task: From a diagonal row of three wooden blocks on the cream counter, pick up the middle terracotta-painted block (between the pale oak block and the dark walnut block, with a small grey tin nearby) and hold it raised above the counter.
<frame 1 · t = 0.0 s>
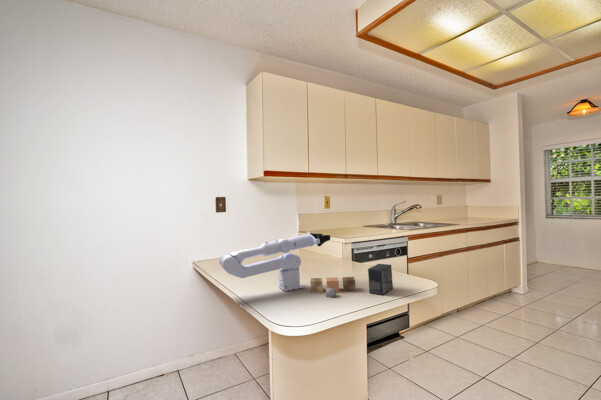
hand: (326, 236, 144), 22 cm above the table, tool horizontal, fingers open, 7 cm apart
walnut block: (349, 290, 129), on the table
grey tin: (330, 296, 122), on the table
small box: (381, 291, 125), on the table
terracotta block: (333, 290, 129), on the table
oak block: (316, 291, 130), on the table
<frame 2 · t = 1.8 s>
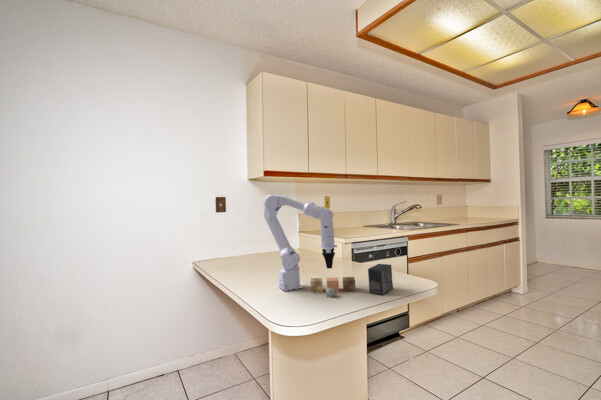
hand: (329, 266, 132), 10 cm above the table, tool pointing down, fingers open, 7 cm apart
nothing on the table moved.
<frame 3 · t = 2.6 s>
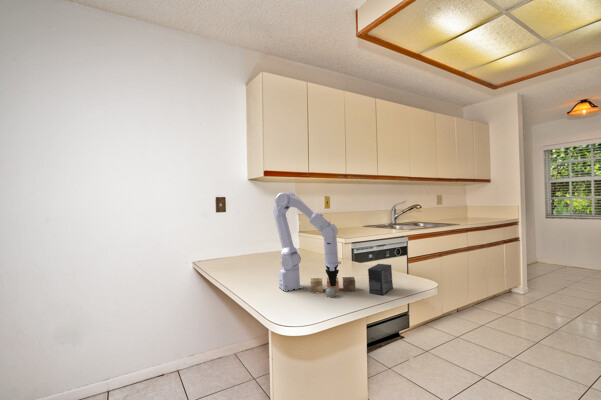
hand: (332, 283, 129), 3 cm above the table, tool pointing down, fingers open, 7 cm apart
nothing on the table moved.
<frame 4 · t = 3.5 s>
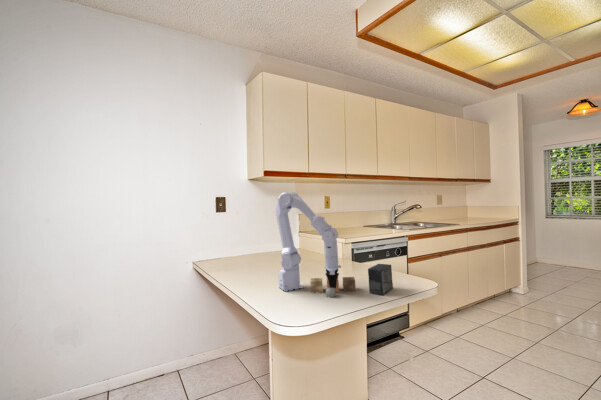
hand: (332, 287, 129), 1 cm above the table, tool pointing down, fingers closed on terracotta block, 5 cm apart
terracotta block: (333, 290, 129), on the table, touching gripper
everything else where it was.
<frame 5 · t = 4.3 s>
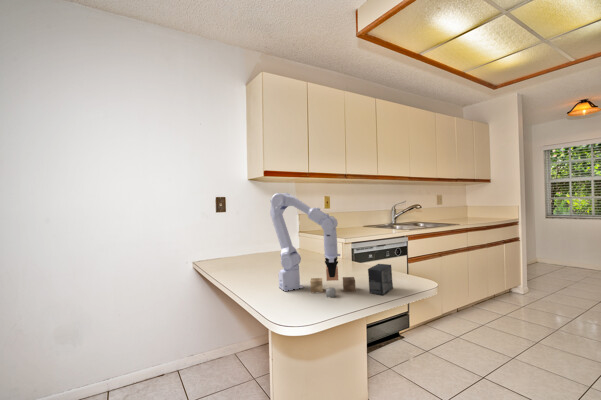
hand: (332, 275, 129), 7 cm above the table, tool pointing down, fingers closed on terracotta block, 5 cm apart
terracotta block: (332, 278, 129), point 5 cm above the table, touching gripper
everything else where it was.
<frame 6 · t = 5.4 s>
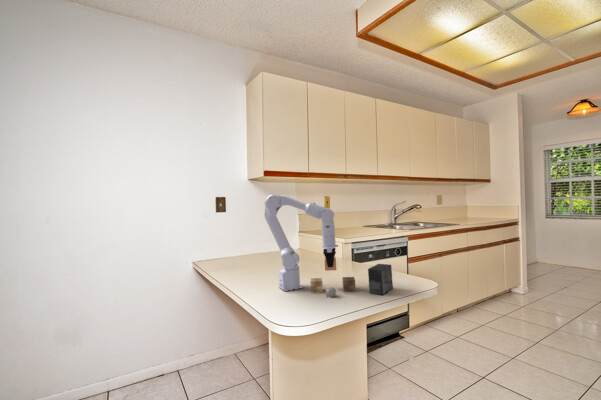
hand: (330, 265, 133), 10 cm above the table, tool pointing down, fingers closed on terracotta block, 5 cm apart
terracotta block: (330, 269, 133), point 8 cm above the table, touching gripper
everything else where it was.
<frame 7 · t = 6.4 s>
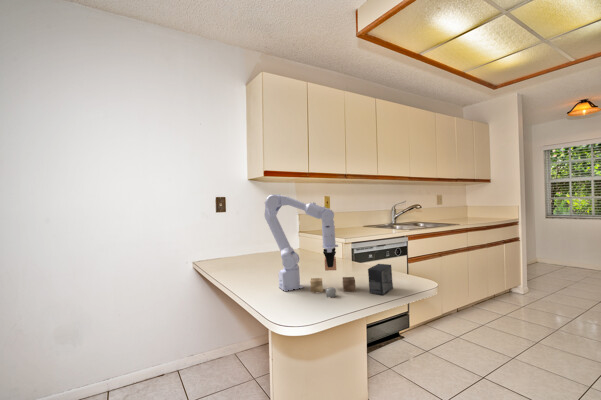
hand: (330, 265, 133), 10 cm above the table, tool pointing down, fingers closed on terracotta block, 5 cm apart
terracotta block: (330, 269, 133), point 8 cm above the table, touching gripper
everything else where it was.
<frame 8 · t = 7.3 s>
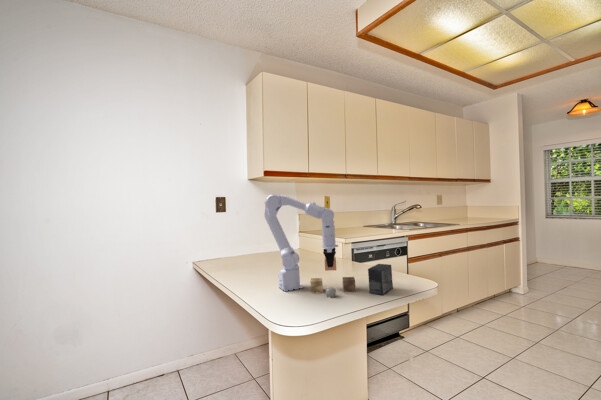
hand: (330, 265, 133), 10 cm above the table, tool pointing down, fingers closed on terracotta block, 5 cm apart
terracotta block: (330, 269, 133), point 8 cm above the table, touching gripper
everything else where it was.
at the end: the gripper is holding terracotta block; terracotta block point 8.3 cm above the table; walnut block moved 0.1 cm from its start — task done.
